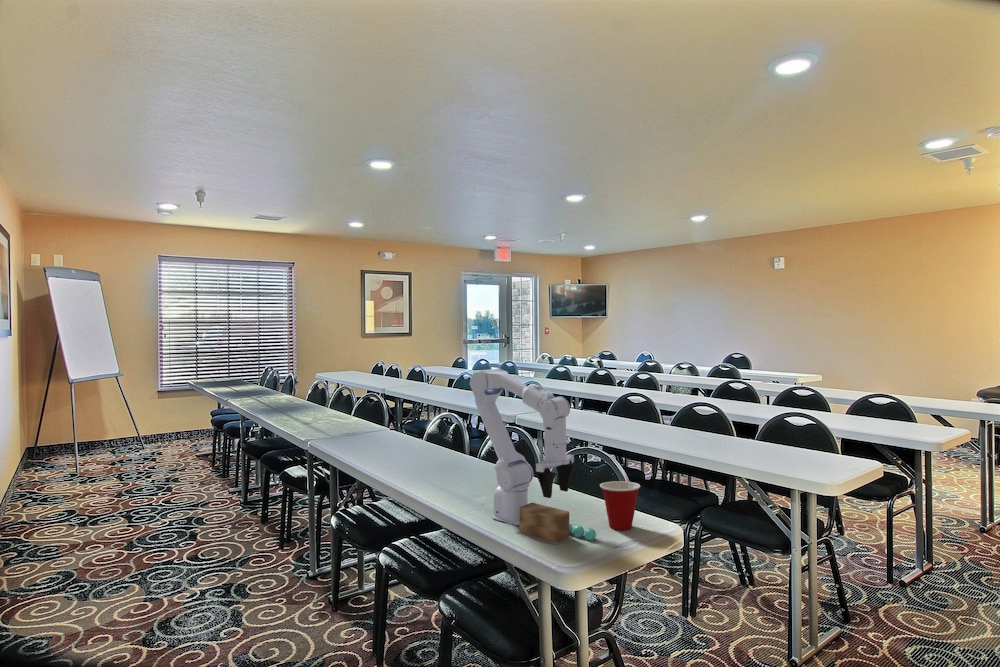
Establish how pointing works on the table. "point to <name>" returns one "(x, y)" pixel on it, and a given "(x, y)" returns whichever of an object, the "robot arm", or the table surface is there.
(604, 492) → the plastic cup
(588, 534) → the teal egg
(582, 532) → the marble
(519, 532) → the felt mat
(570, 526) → the marble
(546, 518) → the wooden block
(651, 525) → the table surface
